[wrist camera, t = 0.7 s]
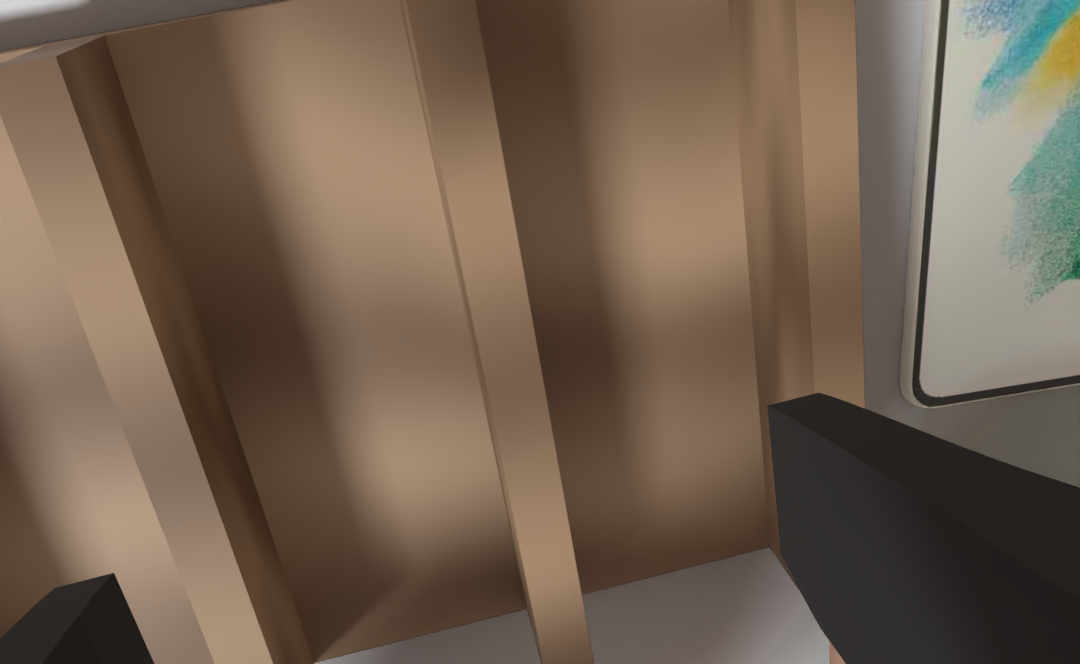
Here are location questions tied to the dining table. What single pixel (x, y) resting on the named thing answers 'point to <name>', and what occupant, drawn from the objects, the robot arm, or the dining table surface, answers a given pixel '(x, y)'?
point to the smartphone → (994, 204)
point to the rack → (414, 308)
